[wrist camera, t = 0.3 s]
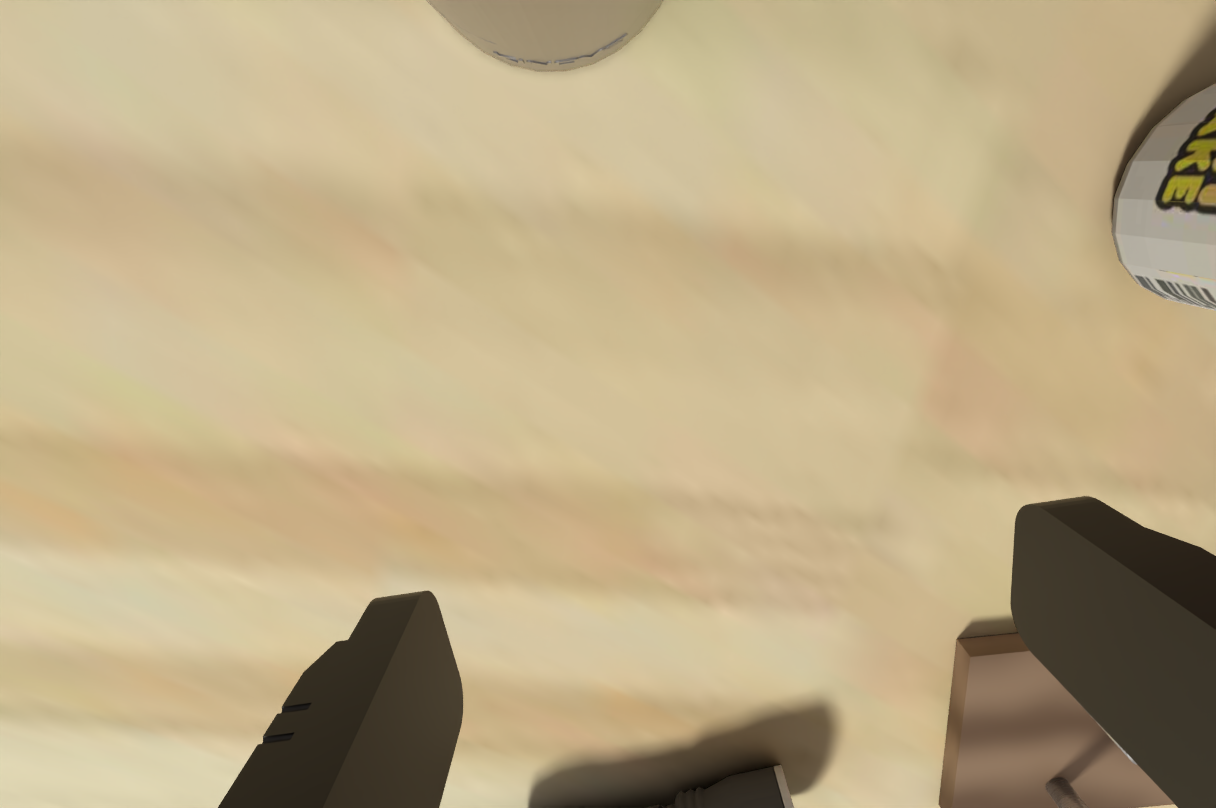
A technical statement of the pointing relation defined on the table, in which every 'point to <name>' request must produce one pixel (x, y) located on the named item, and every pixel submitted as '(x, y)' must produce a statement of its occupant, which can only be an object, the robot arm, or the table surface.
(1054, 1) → the table surface
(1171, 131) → the beverage can
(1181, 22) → the table surface
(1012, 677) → the tool rest
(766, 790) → the flashlight
